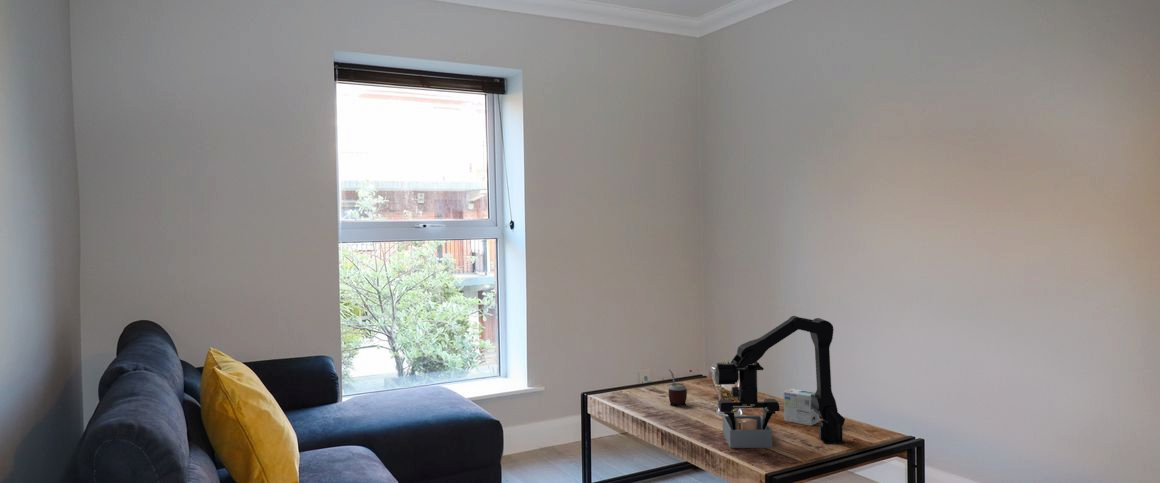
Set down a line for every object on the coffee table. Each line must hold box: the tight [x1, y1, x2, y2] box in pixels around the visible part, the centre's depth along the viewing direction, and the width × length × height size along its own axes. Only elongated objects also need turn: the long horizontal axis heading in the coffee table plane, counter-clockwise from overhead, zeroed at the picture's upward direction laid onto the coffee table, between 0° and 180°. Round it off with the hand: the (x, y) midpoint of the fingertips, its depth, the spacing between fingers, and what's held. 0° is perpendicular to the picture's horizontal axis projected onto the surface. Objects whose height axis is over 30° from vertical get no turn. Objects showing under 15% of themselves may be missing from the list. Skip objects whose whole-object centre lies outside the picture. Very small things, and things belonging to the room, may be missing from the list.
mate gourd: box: [668, 369, 688, 408], centre depth 296 cm, size 8×8×15 cm
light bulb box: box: [783, 388, 821, 427], centre depth 270 cm, size 11×7×11 cm, turn 47°
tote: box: [722, 415, 773, 449], centre depth 250 cm, size 13×17×6 cm
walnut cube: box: [736, 419, 742, 430], centre depth 253 cm, size 5×5×5 cm
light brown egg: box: [741, 418, 757, 430], centre depth 246 cm, size 5×5×7 cm
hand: (748, 431), depth 246 cm, fingers open, 9 cm apart
